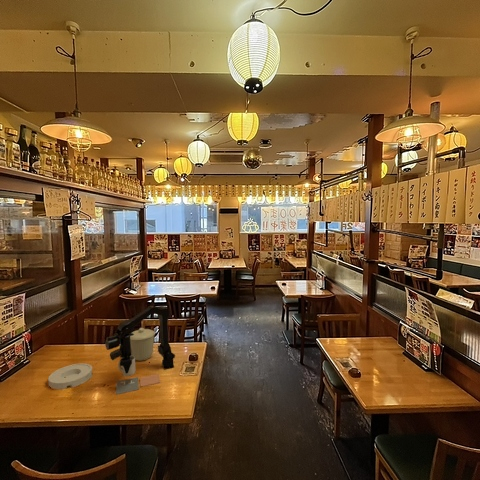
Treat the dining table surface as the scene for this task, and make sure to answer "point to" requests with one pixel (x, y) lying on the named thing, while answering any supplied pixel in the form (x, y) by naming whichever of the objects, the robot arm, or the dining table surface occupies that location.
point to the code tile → (127, 385)
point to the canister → (142, 344)
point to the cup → (131, 369)
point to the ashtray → (70, 376)
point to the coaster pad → (149, 380)
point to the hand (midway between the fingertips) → (126, 370)
